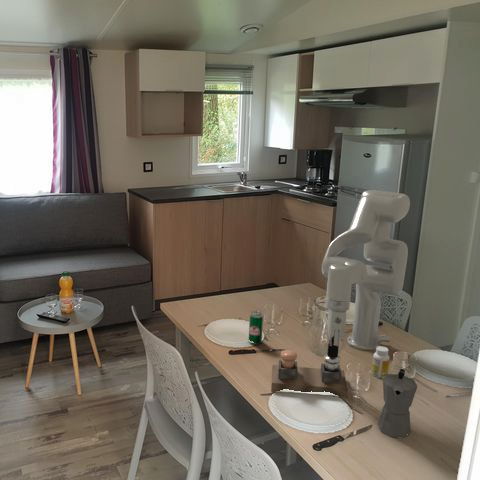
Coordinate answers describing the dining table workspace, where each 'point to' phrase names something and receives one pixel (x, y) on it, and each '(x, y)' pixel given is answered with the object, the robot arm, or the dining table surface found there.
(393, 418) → the coffeepot
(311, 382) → the panel
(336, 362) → the grey plunger
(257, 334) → the soda can
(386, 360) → the supplement bottle
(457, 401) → the dining table surface
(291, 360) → the terracotta plunger
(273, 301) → the dining table surface
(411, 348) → the dining table surface
